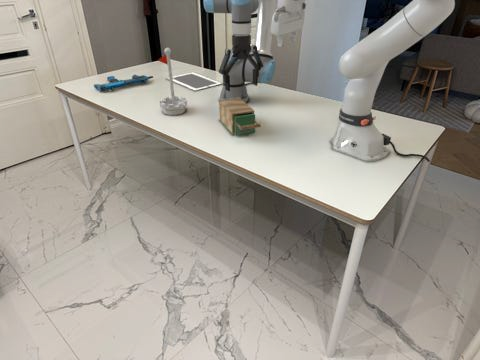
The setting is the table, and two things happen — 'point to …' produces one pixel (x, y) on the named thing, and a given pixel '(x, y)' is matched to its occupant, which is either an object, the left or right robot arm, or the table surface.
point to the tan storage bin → (232, 111)
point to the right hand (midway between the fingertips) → (286, 44)
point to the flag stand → (174, 103)
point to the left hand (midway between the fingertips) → (241, 87)
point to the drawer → (245, 123)
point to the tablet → (194, 81)
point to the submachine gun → (121, 82)
